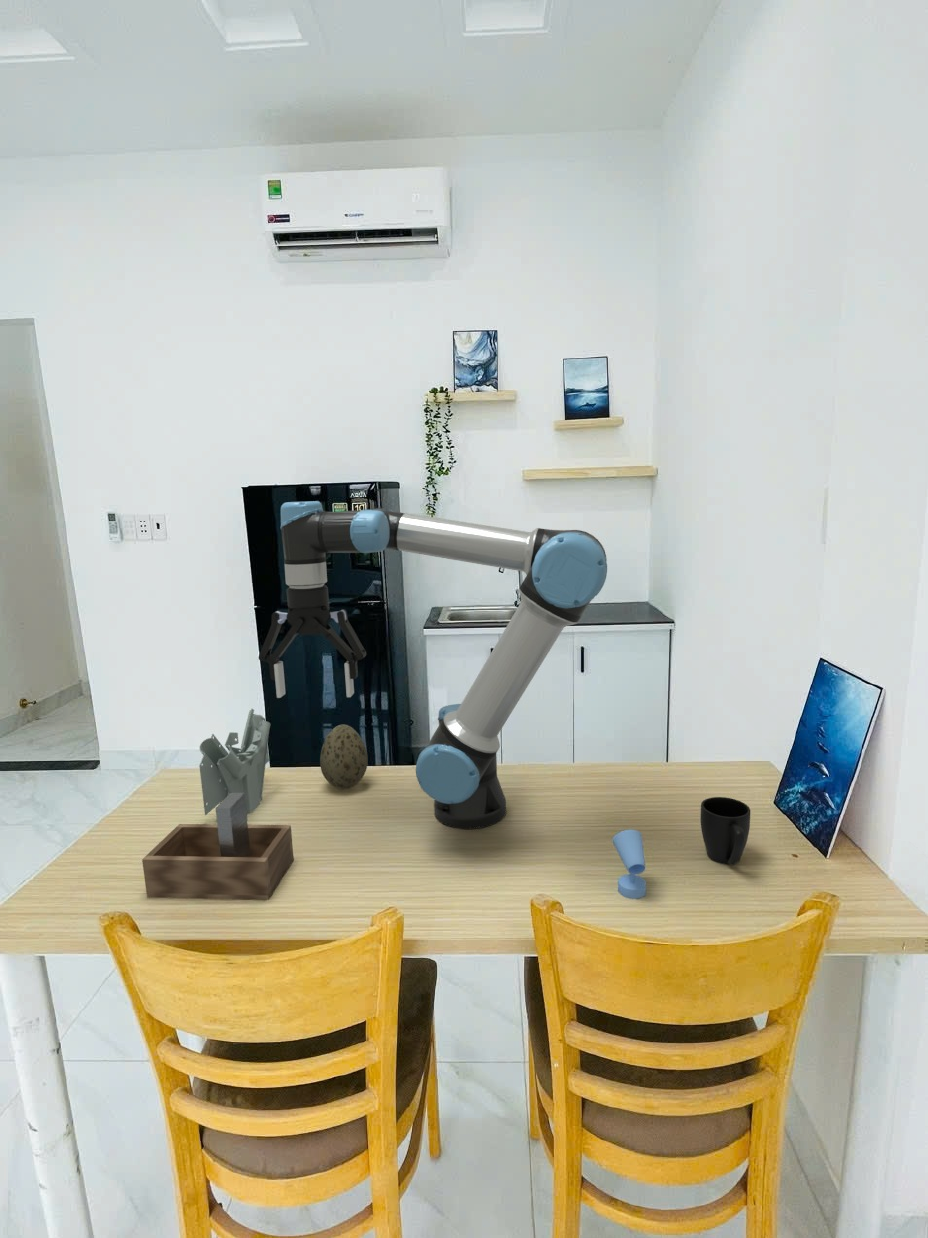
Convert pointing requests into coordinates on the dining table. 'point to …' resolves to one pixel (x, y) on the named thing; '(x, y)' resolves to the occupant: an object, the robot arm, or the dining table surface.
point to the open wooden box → (217, 864)
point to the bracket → (235, 765)
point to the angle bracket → (233, 826)
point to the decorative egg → (343, 757)
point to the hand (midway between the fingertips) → (315, 695)
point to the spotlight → (631, 863)
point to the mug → (725, 828)
